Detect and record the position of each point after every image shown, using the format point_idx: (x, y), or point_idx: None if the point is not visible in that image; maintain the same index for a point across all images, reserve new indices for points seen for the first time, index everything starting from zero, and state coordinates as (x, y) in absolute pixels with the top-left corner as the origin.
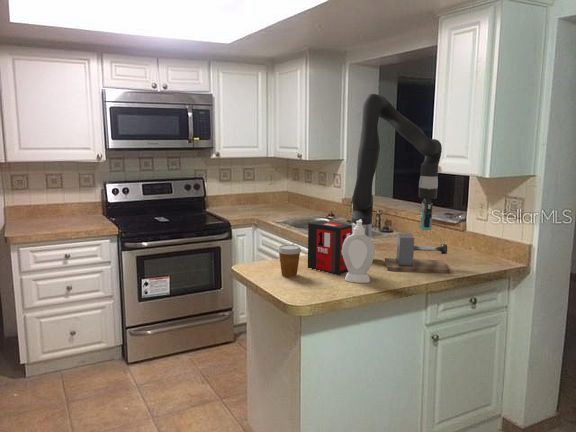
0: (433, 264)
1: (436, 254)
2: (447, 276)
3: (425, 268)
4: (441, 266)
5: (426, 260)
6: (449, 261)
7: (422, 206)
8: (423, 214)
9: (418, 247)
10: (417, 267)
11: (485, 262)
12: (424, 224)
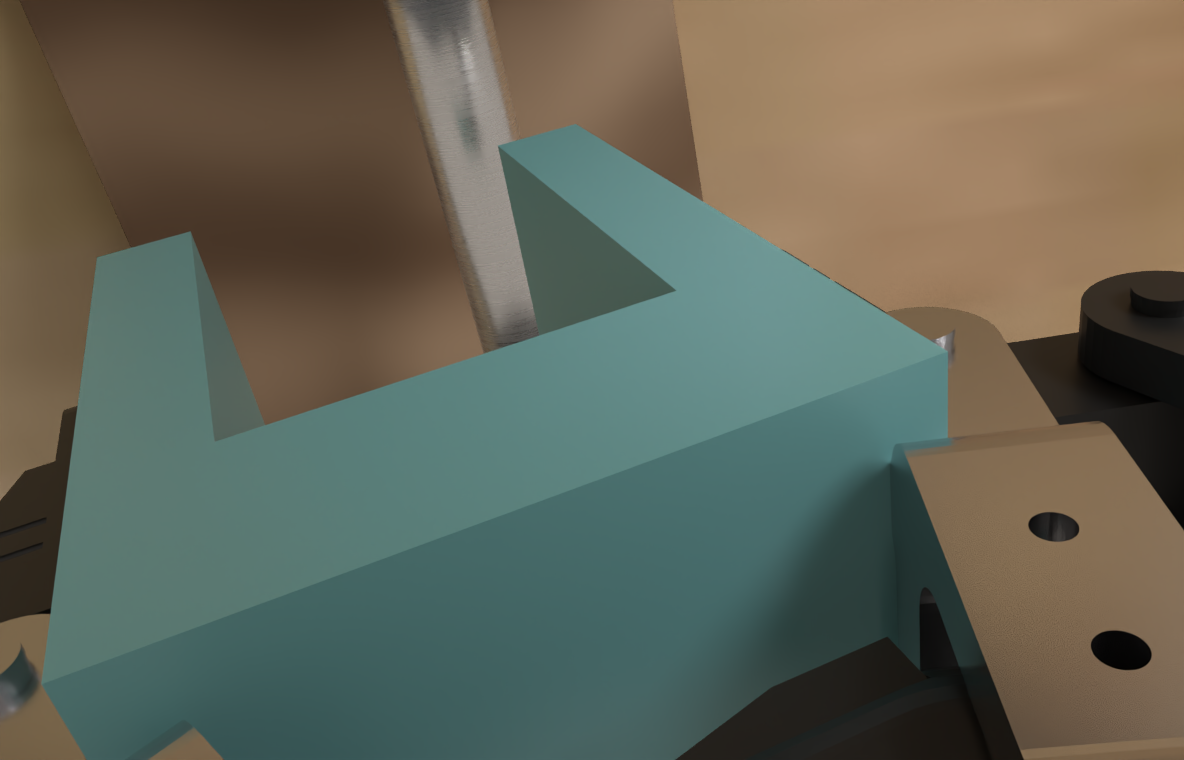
0: (434, 232)
1: (1099, 157)
2: (36, 466)
3: (110, 153)
4: (366, 353)
5: (631, 100)
6: None
7: (1014, 755)
8: (65, 696)
9: (403, 22)
10: (98, 11)
11: None
12: (62, 459)
